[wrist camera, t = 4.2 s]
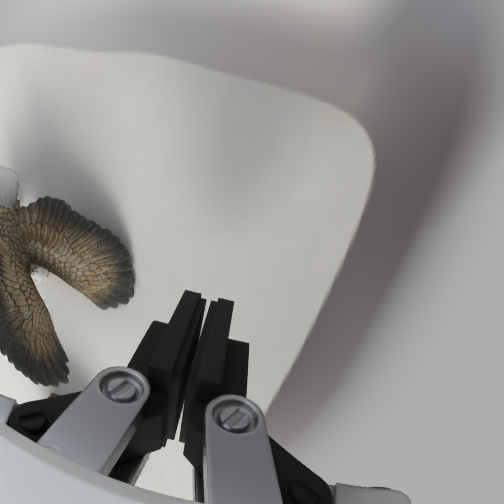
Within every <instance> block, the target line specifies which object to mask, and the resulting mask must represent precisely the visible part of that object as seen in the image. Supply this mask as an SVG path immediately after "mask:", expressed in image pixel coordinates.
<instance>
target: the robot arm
mask: <svg viewBox="0 0 504 504" xmlns="http://www.w3.org/2000/svg"><path fill="white" fill-rule="evenodd" d="M205 305H206V299H203V298H201V294H200V293H196V292H192V291H188V290H185V292H184V294H183V296H182V298H181V300H180V302H179V304H178V306H177V308H176V310H175V312H174V314H173V316H172V318H171V320H170V322H169V324H166V323H163V322H159V321H155V320H154V321H153V322H152V324H151V325H150V327H149V329H148V330H147V332H146V334H145V336H144V337H143V339H142V341H141V343H140V344H139V346H138V348H137V350H136V352H135V353H134V355H133V357H132V359H131V361H130V362H129V364H128V366H127V367H120V366H117V367H110V368H107V369H105V370H103V371H101V372H100V373H99V374H98V375H97V376H96V377H95V378H94V379H93V380H92V381H91V382H90V383H89V384H88V386H87V387H86V388H85V389H84V390H83V391H80V392H76V393H71V394H67V395H62V396H57V397H52V398H47V399H42V400H36V401H30V402H26V403H23V404H21V405H20V404H17V402H16V400H15V399H12V398H9V397H6V396H3V395H1V394H0V504H411V501H410V499H409V498H408V497H407V495H405V494H404V493H402V492H400V491H396V490H389V489H377V488H368V487H360V486H353V485H346V484H339V483H337V484H336V485H334V486H333V485H328V484H327V483H326V482H325V481H324V480H323V479H322V478H320V477H319V476H318V475H316V474H315V473H314V472H312V471H311V470H310V469H309V468H307V467H306V466H305V465H303V464H302V463H301V462H300V461H298V460H297V459H296V458H295V457H293V456H292V455H291V454H290V453H288V452H287V451H286V450H285V449H284V448H283V447H281V446H280V445H279V444H278V443H277V442H275V441H274V440H273V439H272V438H271V437H270V436H269V435H268V432H267V427H266V422H265V417H264V415H263V412H262V410H261V409H260V408H259V407H258V405H257V404H255V403H254V402H252V401H251V400H249V399H247V398H246V394H247V376H248V359H249V343H246V342H241V341H237V340H232V339H228V336H229V330H230V324H231V318H232V312H233V306H234V301H230V300H226V299H221V298H218V301H217V302H216V301H211V303H210V306H209V310H208V313H207V316H206V319H205V323H204V326H203V329H202V332H201V327H202V321H203V316H204V311H205ZM200 332H201V336H200ZM199 337H200V339H199ZM184 401H185V402H184ZM183 404H184V409H183V416H182V423H181V431H180V438H179V442H183V443H185V446H184V452H183V455H184V456H185V457H186V458H187V459H188V461H189V462H190V463H191V464H192V465H193V501H189V500H185V499H180V498H176V497H172V496H168V495H164V494H160V493H156V492H153V491H149V490H146V489H142V488H139V487H136V486H134V485H135V483H136V481H137V479H138V477H139V475H140V473H141V472H142V470H143V468H144V466H145V464H146V462H147V461H148V459H149V455H150V453H151V452H154V451H156V450H159V449H161V447H165V445H166V442H167V439H171V440H174V437H175V434H176V430H177V426H178V423H179V419H180V415H181V412H182V408H183Z"/></svg>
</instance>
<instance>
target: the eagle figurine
mask: <svg viewBox="0 0 504 504" xmlns="http://www.w3.org/2000/svg"><path fill="white" fill-rule="evenodd" d="M18 187H19V176H18V174H17V173H16V172H14V171H13V170H12V169H10V168H5V167H2V166H0V351H1V353H2V354H3V355H4V356H5V355H7V357H8V361H9V362H10V363H13V364H14V366H15V368H16V369H17V370H19V371H21V372H22V373H23V374H24V375H25V376H26V377H29V378H30V379H31V381H32V382H34V383H35V384H39V383H41V384H42V385H44V386H49V385H52V386H55V387H58V386H59V382H60V383H64V384H67V383H68V382H69V380H68V378H67V375H69V373H70V372H69V369H68V367H67V365H66V363H68V362H69V360H68V358H67V356H66V354H65V351H64V350H63V348H62V346H61V344H60V342H59V339H58V337H57V335H56V332H55V330H54V326H53V323H52V320H51V317H50V313H49V311H48V309H47V307H46V305H45V303H44V301H43V299H42V298H41V296H40V295H39V293H38V291H37V289H36V286H35V284H34V282H33V280H32V278H31V276H32V277H33V278H36V279H38V280H39V281H42V280H44V279H45V278H46V277H48V272H51V273H53V274H55V275H56V276H58V277H59V278H61V279H62V280H63V281H65V282H66V283H67V284H69V285H70V286H72V287H73V288H75V289H77V290H78V291H80V292H81V293H82V294H84V295H85V296H86V297H87V298H88V299H90V300H91V301H92V302H93V303H94V304H95V305H97V306H98V307H99V308H101V309H103V310H106V309H107V308H108V307H112V308H117V307H118V305H119V303H120V304H124V305H125V304H128V302H129V299H128V298H132V297H133V296H134V293H133V290H132V288H131V286H134V284H135V282H134V278H133V277H132V275H131V274H130V273H129V272H128V271H129V270H132V264H131V263H130V262H129V261H128V260H127V259H129V253H128V252H127V250H126V249H125V247H124V246H123V245H122V244H120V241H119V239H118V238H117V237H116V236H114V235H112V234H111V231H109V230H108V229H101V228H100V226H99V225H97V224H96V223H95V222H94V221H89V220H88V221H86V219H85V217H84V216H81V215H79V213H78V212H76V211H72V210H71V207H70V205H67V204H66V202H65V201H64V200H60V199H58V198H51V197H49V196H46V197H45V198H39V199H38V200H37V201H36V202H32V203H30V204H29V205H28V207H24V206H22V207H21V208H20V204H19V203H20V200H17V196H18Z"/></svg>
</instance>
